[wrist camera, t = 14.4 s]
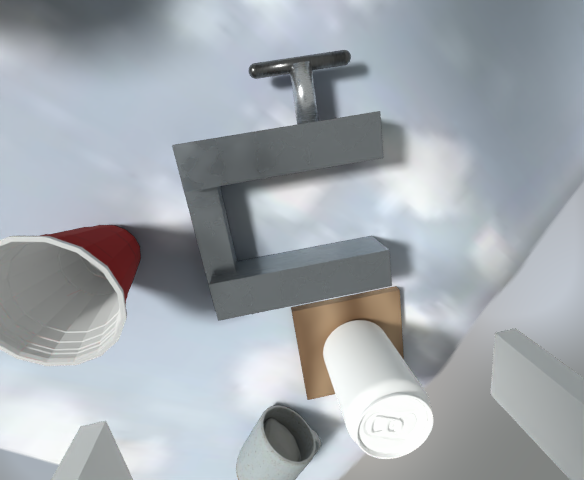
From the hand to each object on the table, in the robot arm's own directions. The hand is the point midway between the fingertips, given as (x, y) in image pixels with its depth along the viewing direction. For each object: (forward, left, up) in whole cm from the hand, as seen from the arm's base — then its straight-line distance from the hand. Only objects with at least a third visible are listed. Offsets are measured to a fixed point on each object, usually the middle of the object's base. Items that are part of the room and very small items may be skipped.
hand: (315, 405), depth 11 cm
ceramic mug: (-4, -29, -26) cm, 39 cm away
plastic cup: (-17, 0, -26) cm, 31 cm away
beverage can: (+7, -17, -25) cm, 31 cm away
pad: (+7, -17, -25) cm, 31 cm away
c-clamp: (+2, +4, -25) cm, 26 cm away
